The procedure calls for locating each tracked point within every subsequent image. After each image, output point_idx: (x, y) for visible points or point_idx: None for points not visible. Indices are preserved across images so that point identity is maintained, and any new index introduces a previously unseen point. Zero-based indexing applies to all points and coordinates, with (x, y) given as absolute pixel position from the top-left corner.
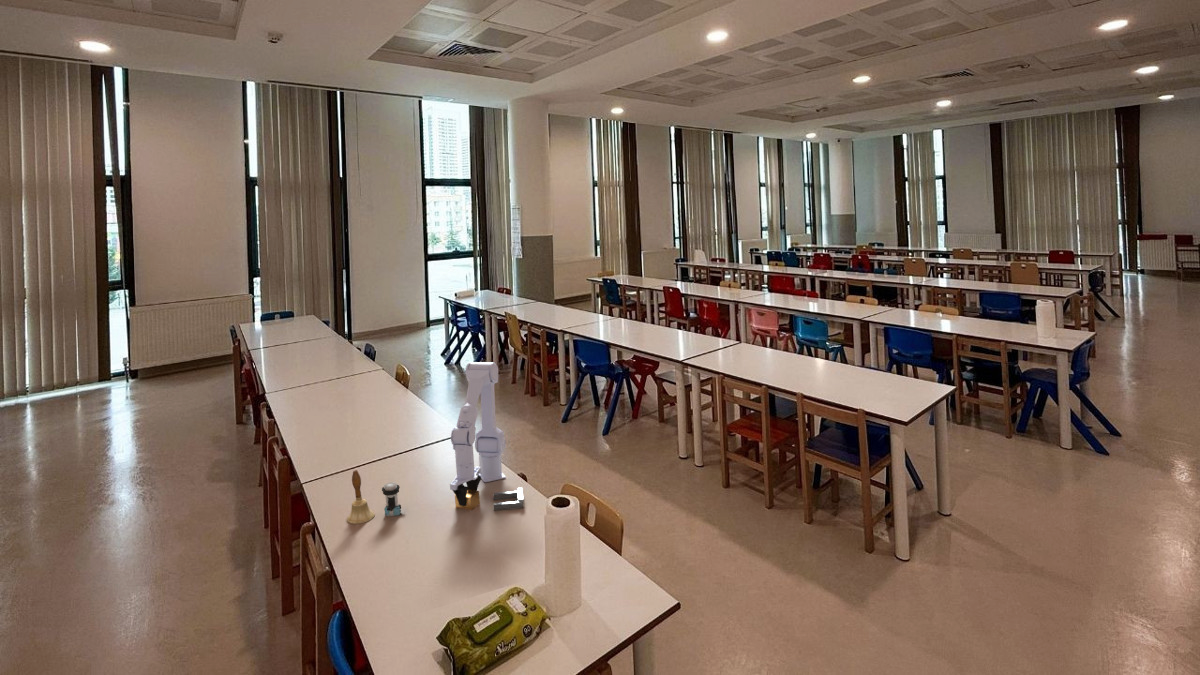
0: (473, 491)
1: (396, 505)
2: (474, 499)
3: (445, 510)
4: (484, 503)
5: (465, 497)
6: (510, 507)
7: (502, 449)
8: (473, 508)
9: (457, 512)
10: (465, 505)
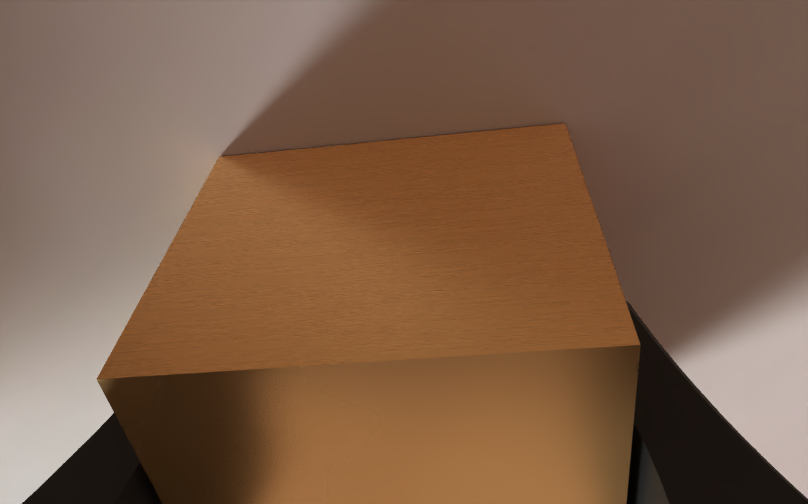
0: (233, 478)
1: None
2: (401, 252)
3: None
4: (141, 75)
5: (705, 452)
6: None
7: None
8: (468, 135)
9: (728, 298)
10: None
